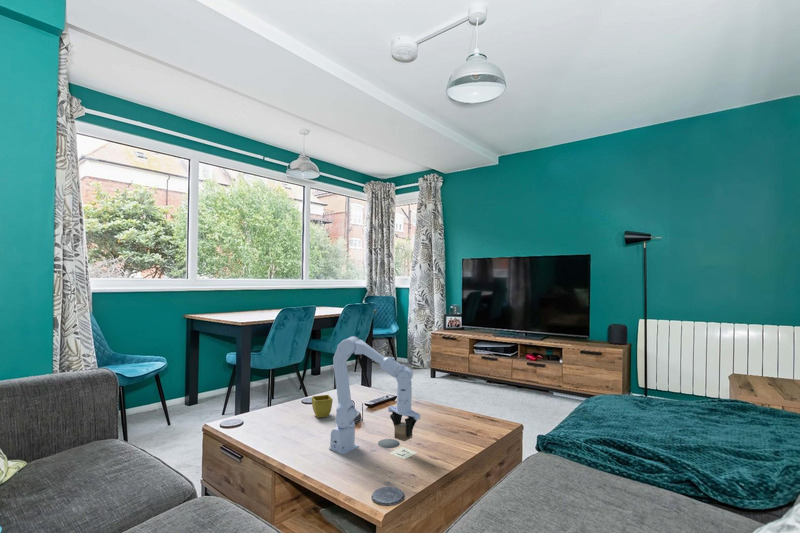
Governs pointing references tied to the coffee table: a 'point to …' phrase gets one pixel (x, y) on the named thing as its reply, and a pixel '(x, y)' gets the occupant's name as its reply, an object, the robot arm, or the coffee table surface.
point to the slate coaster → (388, 443)
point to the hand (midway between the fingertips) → (403, 434)
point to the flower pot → (322, 405)
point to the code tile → (403, 452)
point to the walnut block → (401, 432)
